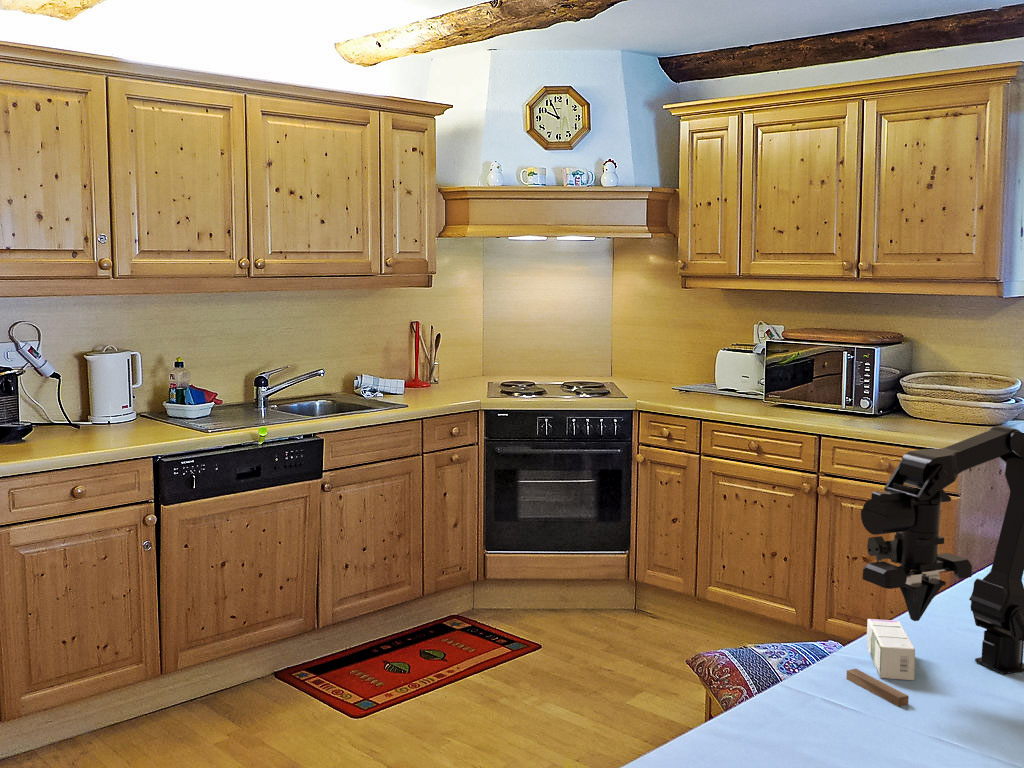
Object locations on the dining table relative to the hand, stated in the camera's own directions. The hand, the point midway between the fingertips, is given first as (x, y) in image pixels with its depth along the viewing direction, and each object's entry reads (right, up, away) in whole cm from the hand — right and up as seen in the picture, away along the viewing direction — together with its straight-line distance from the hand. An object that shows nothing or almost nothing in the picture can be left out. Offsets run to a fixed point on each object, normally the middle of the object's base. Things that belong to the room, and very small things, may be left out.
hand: (914, 620), depth 173 cm
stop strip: (-7, -11, -2) cm, 13 cm away
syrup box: (-2, -8, +3) cm, 9 cm away
